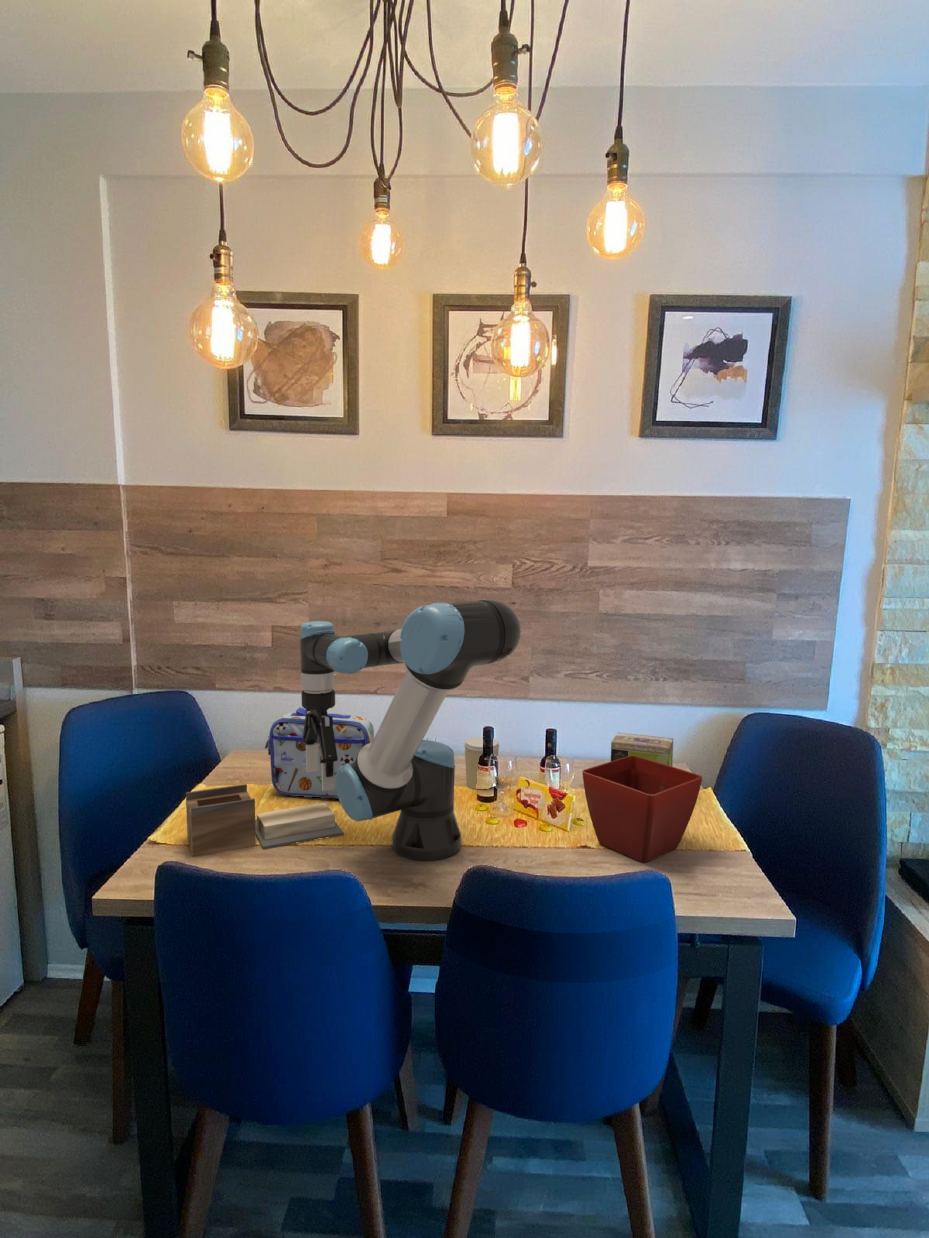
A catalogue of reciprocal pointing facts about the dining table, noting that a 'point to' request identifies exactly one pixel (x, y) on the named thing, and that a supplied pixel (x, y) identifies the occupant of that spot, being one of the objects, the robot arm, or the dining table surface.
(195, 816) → the walnut box
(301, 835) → the charcoal mat
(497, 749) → the coffee cup
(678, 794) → the plant pot
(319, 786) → the lunch box
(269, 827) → the birch lid
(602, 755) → the dining table surface
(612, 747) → the tea box
